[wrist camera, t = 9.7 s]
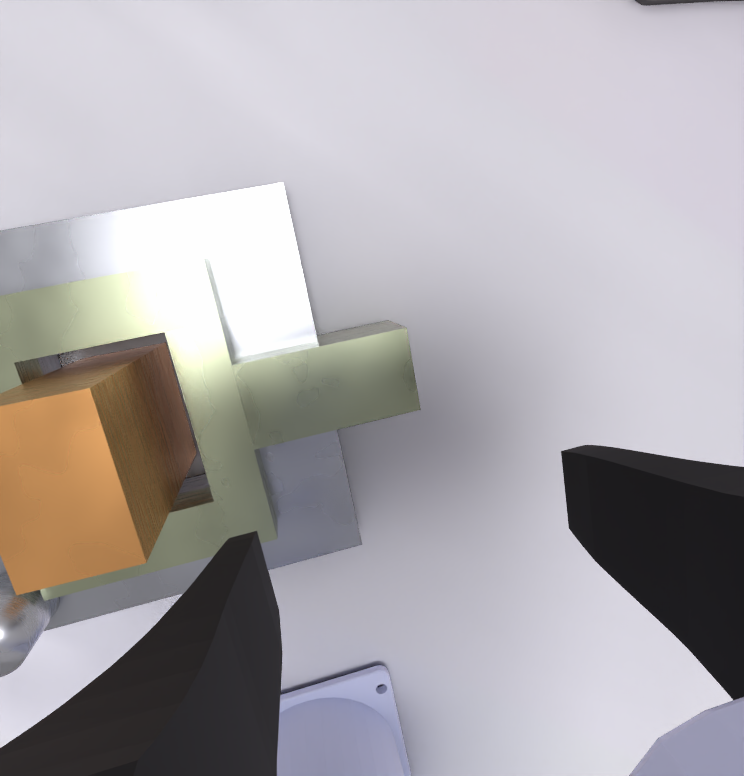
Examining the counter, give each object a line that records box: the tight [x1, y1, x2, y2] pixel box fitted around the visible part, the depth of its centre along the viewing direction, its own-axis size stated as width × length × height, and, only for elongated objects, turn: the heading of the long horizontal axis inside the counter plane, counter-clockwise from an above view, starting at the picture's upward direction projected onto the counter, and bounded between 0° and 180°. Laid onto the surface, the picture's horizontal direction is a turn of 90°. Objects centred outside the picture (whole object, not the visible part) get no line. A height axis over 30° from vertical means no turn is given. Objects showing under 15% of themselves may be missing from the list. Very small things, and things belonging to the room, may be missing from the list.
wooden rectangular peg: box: [0, 342, 196, 595], centre depth 16 cm, size 4×3×8 cm, turn 10°
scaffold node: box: [0, 182, 421, 677], centre depth 18 cm, size 14×17×4 cm
